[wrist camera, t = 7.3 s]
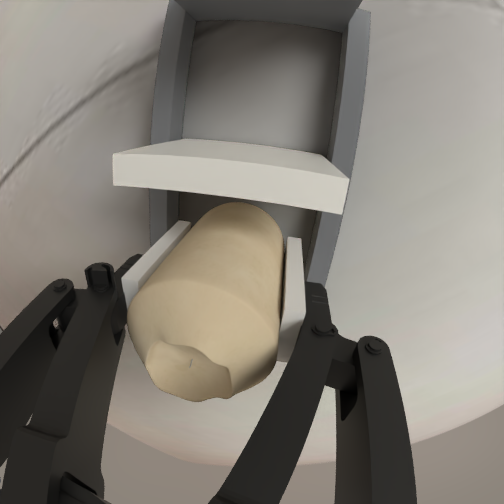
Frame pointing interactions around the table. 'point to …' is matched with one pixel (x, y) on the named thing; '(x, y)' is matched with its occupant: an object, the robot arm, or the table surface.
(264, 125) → the table surface
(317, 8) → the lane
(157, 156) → the plate
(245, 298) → the candle
